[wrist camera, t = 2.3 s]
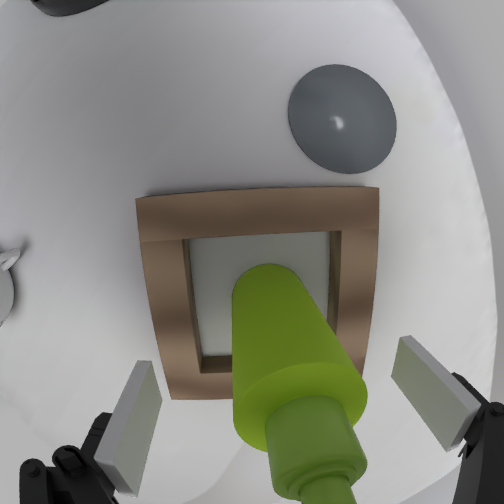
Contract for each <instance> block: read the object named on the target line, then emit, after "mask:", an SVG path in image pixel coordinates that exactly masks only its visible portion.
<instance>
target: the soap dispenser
mask: <svg viewBox="0 0 504 504" xmlns="http://www.w3.org/2000/svg"><path fill="white" fill-rule="evenodd" d="M232 379H233V422H234V427H235V429H236V431H237V433H238V435H239V436H240V437H241V438H242V439H243V440H244V441H245V442H246V443H247V444H249V445H250V446H252V447H254V448H256V449H259V450H261V451H264V452H268V457H269V464H270V471H271V478H272V484H273V488H274V491H275V492H276V493H277V494H278V495H279V496H281V497H283V498H286V499H290V500H296V501H301V503H302V504H357V503H356V500H355V497H354V494H353V492H352V489H351V486H352V485H353V484H354V483H355V482H356V481H357V480H359V479H360V478H361V477H362V475H363V474H364V473H365V471H366V468H367V459H366V456H365V454H364V452H363V449H362V447H361V445H360V443H359V441H358V438H357V436H356V434H355V432H354V430H353V426H354V425H355V424H356V423H357V422H358V420H359V419H360V417H361V416H362V414H363V412H364V410H365V407H366V404H367V397H368V394H367V388H366V385H365V382H364V381H363V379H362V377H361V376H360V374H359V372H358V371H357V369H356V367H355V366H354V364H353V363H352V361H351V359H350V358H349V356H348V355H347V353H346V351H345V350H344V348H343V347H342V345H341V343H340V342H339V340H338V339H337V337H336V335H335V334H334V332H333V331H332V329H331V327H330V326H329V324H328V323H327V321H326V320H325V318H324V316H323V315H322V313H321V312H320V310H319V309H318V307H317V306H316V304H315V302H314V301H313V299H312V298H311V296H310V295H309V293H308V292H307V290H306V288H305V287H304V285H303V284H302V282H301V281H300V279H299V278H298V277H297V275H296V274H295V273H293V272H292V271H291V270H289V269H288V268H286V267H283V266H280V265H275V264H265V265H260V266H257V267H254V268H252V269H250V270H249V271H247V272H246V273H245V274H243V275H242V276H241V278H240V279H239V280H238V281H237V283H236V285H235V287H234V290H233V294H232Z"/></svg>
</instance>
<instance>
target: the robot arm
mask: <svg viewBox="0 0 504 504" xmlns="http://www.w3.org/2000/svg"><path fill="white" fill-rule="evenodd" d="M30 1H31V2H32V3H33V5H35V6H36V7H37V8H38V9H40V10H41V11H42V12H44V13H45V14H48V15H51V16H65V15H70V14H74V13H78V12H81V11H84V10H87V9H89V8H92V7H94V6H96V5H98V4H101V3H103V2H105V1H107V0H30ZM391 377H392V379H393V380H394V381H395V383H396V384H397V385H398V387H399V388H400V389H401V391H402V392H403V393H404V395H405V396H406V397H407V399H408V400H409V401H410V403H411V404H412V405H413V407H414V408H415V409H416V411H417V412H418V414H419V415H420V416H421V418H422V419H423V420H424V422H425V423H426V424H427V426H428V427H429V429H430V430H431V431H432V433H433V434H434V436H435V437H436V438H437V440H438V441H439V443H440V444H441V445H442V447H443V448H444V450H445V451H446V452H448V451H450V450H452V449H454V448H456V447H458V446H459V444H460V443H461V441H462V439H463V438H464V439H465V440H466V444H465V445H464V447H463V448H462V450H461V452H460V453H459V455H458V457H460V456H461V454H462V453H463V457H462V463H461V468H460V473H459V479H458V483H457V488H456V492H455V495H454V499H453V503H452V504H504V405H503V404H501V403H499V402H491V403H489V402H488V401H487V400H486V399H485V398H484V397H483V396H482V395H481V394H480V393H479V392H478V391H477V390H476V389H475V388H473V386H472V385H471V384H470V383H468V381H467V380H466V379H465V378H464V377H463V376H461V375H459V374H457V373H455V372H454V373H450V372H449V371H448V370H447V369H446V368H445V367H444V366H443V365H442V364H441V363H440V362H438V361H437V360H436V359H435V358H434V357H433V356H432V355H431V354H430V353H429V352H428V351H427V350H426V349H425V348H424V347H423V346H422V345H421V344H420V343H419V342H418V341H416V340H415V339H414V338H413V337H412V336H411V335H409V336H404V337H400V338H399V344H398V349H397V353H396V358H395V362H394V367H393V371H392V375H391ZM161 404H162V398H161V394H160V391H159V387H158V384H157V380H156V376H155V373H154V369H153V365H152V361H139V360H138V361H137V363H136V365H135V367H134V369H133V371H132V373H131V375H130V377H129V379H128V381H127V384H126V386H125V388H124V390H123V392H122V394H121V396H120V399H119V401H118V403H117V405H116V407H115V410H114V412H113V413H105V412H102V413H101V414H100V415H99V416H98V417H97V418H96V419H95V420H94V422H93V424H92V426H91V429H90V430H89V433H88V435H87V437H86V439H85V441H84V443H83V445H82V447H81V449H79V448H77V447H75V446H71V445H66V446H62V447H60V448H58V449H57V450H56V451H55V452H54V454H53V456H52V462H53V463H54V465H55V466H56V467H46V466H45V465H44V464H43V462H42V461H40V460H38V459H33V458H32V459H28V460H26V461H25V462H23V464H22V465H21V467H20V480H19V481H20V482H19V488H20V489H19V492H20V504H119V503H118V501H117V500H116V498H115V497H114V496H113V494H114V491H115V489H116V490H117V491H118V493H119V494H120V495H124V496H130V497H136V498H137V497H138V493H139V488H140V484H141V480H142V476H143V472H144V468H145V464H146V460H147V456H148V452H149V448H150V444H151V440H152V437H153V433H154V429H155V425H156V422H157V418H158V414H159V411H160V407H161Z"/></svg>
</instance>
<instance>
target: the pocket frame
mask: <svg viewBox="0 0 504 504" xmlns="http://www.w3.org/2000/svg"><path fill="white" fill-rule="evenodd" d="M135 200H136V211H137V221H138V230H139V239H140V247H141V255H142V262H143V269H144V275H145V282H146V288H147V294H148V299H149V305H150V310H151V315H152V321H153V326H154V330H155V335H156V340H157V344H158V349H159V353H160V357H161V362H162V366H163V370H164V374H165V378H166V381H167V385H168V389H169V393H170V396H171V400H214V399H233V379H232V356H213V357H202V351H201V344H200V337H199V331H198V323H197V316H196V308H195V301H194V293H193V284H192V275H191V266H190V257H189V247H188V239H195V238H210V237H226V236H243V235H260V234H278V233H297V232H317V231H330V278H329V300H328V318H327V323H328V324H329V326H330V327H331V329H332V331H333V332H334V334H335V335H336V337H337V339H338V340H339V342H340V343H341V345H342V347H343V348H344V350H345V351H346V353H347V355H348V356H349V358H350V359H351V361H352V363H353V364H354V366H355V367H356V369H357V371H358V372H359V374H360V376H361V377H362V374H363V369H364V363H365V357H366V352H367V345H368V339H369V332H370V325H371V318H372V310H373V301H374V291H375V281H376V268H377V254H378V234H379V188H375V187H364V186H313V187H273V188H250V189H231V190H216V191H202V192H189V193H177V194H167V195H156V196H147V197H142V198H137V199H135Z"/></svg>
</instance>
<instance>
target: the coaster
mask: <svg viewBox="0 0 504 504" xmlns="http://www.w3.org/2000/svg"><path fill="white" fill-rule="evenodd" d="M289 123H290V127H291V130H292V133H293V135H294V138H295V139H296V141H297V143H298V145H299V146H300V147H301V149H302V150H303V151H304V152H305V154H306V155H307V156H308V157H309V158H311V159H312V160H313V161H314V162H316V163H317V164H319V165H320V166H322V167H324V168H326V169H328V170H331V171H334V172H338V173H346V174H352V173H361V172H365V171H368V170H371V169H373V168H374V167H376V166H378V165H379V164H380V163H381V162H382V161H383V160H384V159H385V158H386V157H387V156H388V154H389V153H390V151H391V149H392V147H393V144H394V142H395V137H396V129H397V128H396V116H395V112H394V108H393V106H392V103H391V101H390V99H389V97H388V96H387V94H386V93H385V91H384V90H383V88H382V87H381V86H380V85H379V84H378V83H377V82H376V81H375V80H374V79H373V78H371V77H370V76H369V75H367V74H366V73H364V72H362V71H360V70H358V69H356V68H353V67H350V66H345V65H336V64H334V65H326V66H321V67H318V68H316V69H314V70H312V71H310V72H309V73H307V74H306V75H305V76H304V77H303V78H302V79H301V80H300V81H299V83H298V84H297V86H296V87H295V88H294V91H293V93H292V95H291V98H290V102H289Z"/></svg>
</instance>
